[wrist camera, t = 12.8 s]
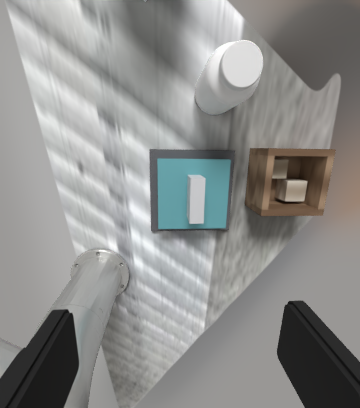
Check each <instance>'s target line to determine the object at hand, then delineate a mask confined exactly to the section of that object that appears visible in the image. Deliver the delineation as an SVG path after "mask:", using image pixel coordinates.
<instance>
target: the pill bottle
mask: <svg viewBox="0 0 360 408" xmlns="http://www.w3.org/2000/svg"><path fill="white" fill-rule="evenodd" d="M262 69H263V57H262V53H261V51H260V49H259V48H258V47H257V46H256V45H255V44H254V43H252V42H250V41H248V40H240V41H236V42H229V43H226V44H223V45H222V46H220V47H219V48H217V49H216V50H215V51H214V52H213V54H212V55H211V56H210V58H209V60H208V62H207V64H206V65H205V67H204V69H203V71H202V73H201V75H200V77H199V78H198V80H197V83H196V86H195V99H196V102H197V104H198V106H199V107H200V109H201V110H202V111H204V112H205V113H207V114H210V115H219V114H222V113H224V112H226V111H228V110H230V109H232V108H233V107H235V106H237V105H239V104H241V103H243V102H244V101H246V100H247V99H248V98H249V97H250V96H251V95H252V94H253V93H254V91H255V90H256V88H257V86H258V83H259V80H260V75H261V73H262Z"/></svg>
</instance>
